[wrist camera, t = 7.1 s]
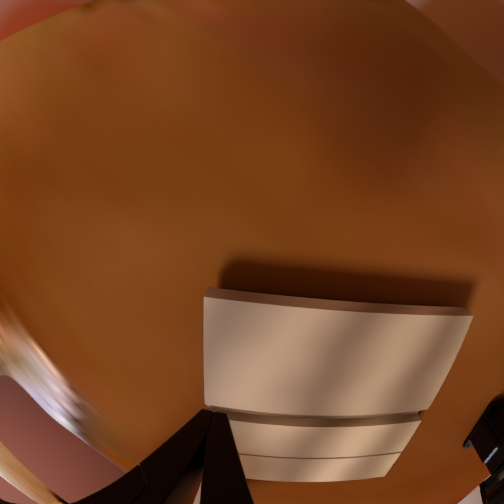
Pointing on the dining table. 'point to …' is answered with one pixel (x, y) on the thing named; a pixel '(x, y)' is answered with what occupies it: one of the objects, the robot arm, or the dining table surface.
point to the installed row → (318, 444)
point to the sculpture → (56, 502)
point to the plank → (326, 354)
